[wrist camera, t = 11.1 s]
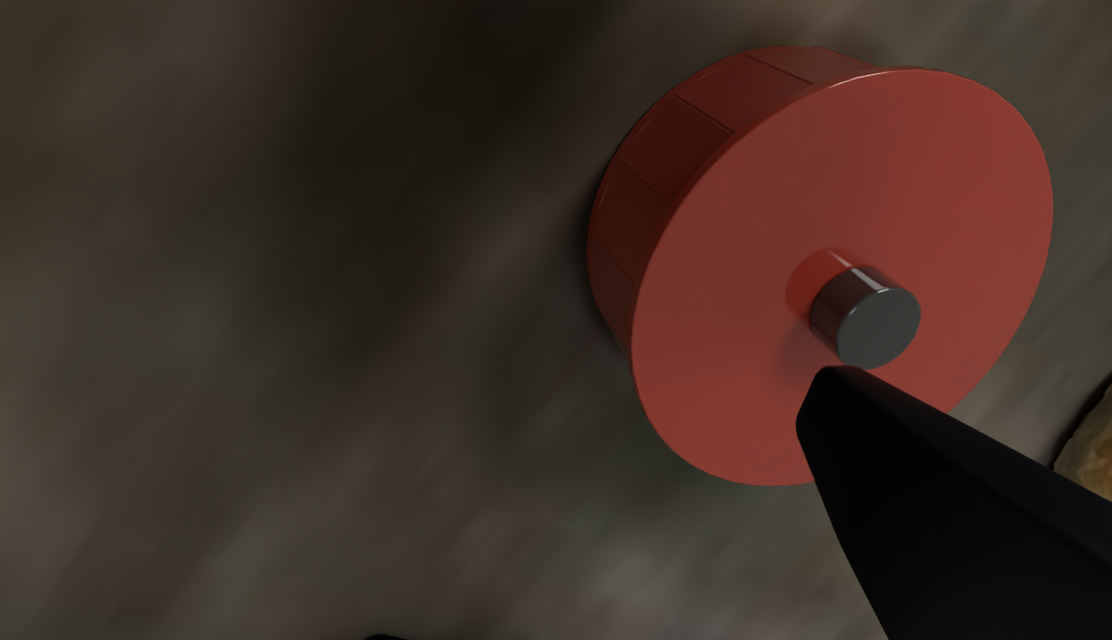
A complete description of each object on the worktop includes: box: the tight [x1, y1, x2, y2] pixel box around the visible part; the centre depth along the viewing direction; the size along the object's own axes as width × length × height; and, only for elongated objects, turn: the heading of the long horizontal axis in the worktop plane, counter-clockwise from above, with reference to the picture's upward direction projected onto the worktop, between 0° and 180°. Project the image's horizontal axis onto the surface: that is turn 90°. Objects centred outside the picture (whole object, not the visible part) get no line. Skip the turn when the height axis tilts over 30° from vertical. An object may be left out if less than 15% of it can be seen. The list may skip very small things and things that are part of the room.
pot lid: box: [626, 66, 1053, 486], centre depth 19 cm, size 11×11×2 cm
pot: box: [587, 45, 877, 361], centre depth 21 cm, size 10×10×4 cm
